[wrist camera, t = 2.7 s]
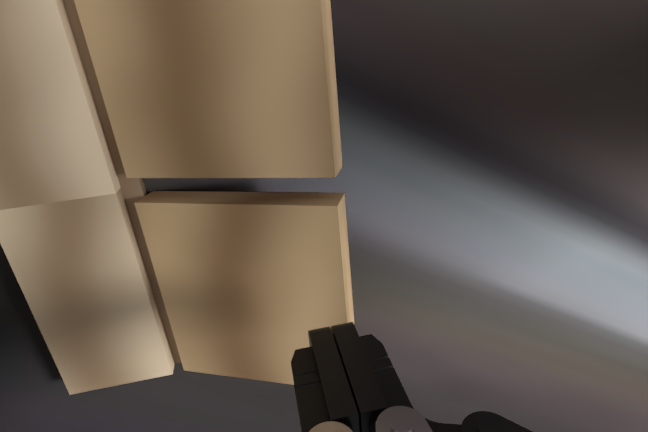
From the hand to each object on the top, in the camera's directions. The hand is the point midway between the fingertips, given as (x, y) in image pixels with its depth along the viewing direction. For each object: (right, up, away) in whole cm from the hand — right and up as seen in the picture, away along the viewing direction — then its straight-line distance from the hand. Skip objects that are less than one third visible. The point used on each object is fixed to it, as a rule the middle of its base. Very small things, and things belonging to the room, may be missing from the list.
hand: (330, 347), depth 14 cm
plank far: (-3, +1, +4) cm, 5 cm away
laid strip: (-10, +5, +3) cm, 12 cm away
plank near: (-4, +10, 0) cm, 11 cm away
